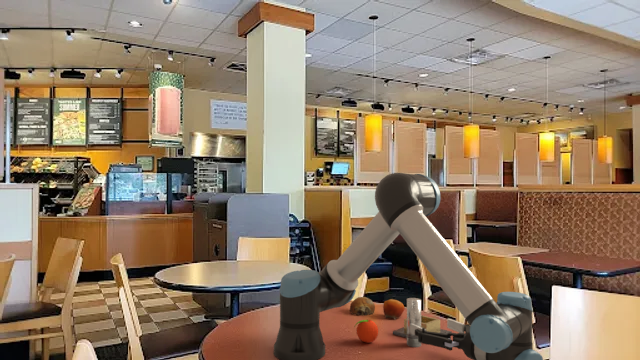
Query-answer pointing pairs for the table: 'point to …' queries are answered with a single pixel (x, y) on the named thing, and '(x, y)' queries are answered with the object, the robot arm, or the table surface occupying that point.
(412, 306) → the silver metal tall cylinder
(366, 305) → the bread roll
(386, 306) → the fruit
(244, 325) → the table surface
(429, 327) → the gold square holder
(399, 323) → the table surface
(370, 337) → the clementine
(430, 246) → the robot arm
